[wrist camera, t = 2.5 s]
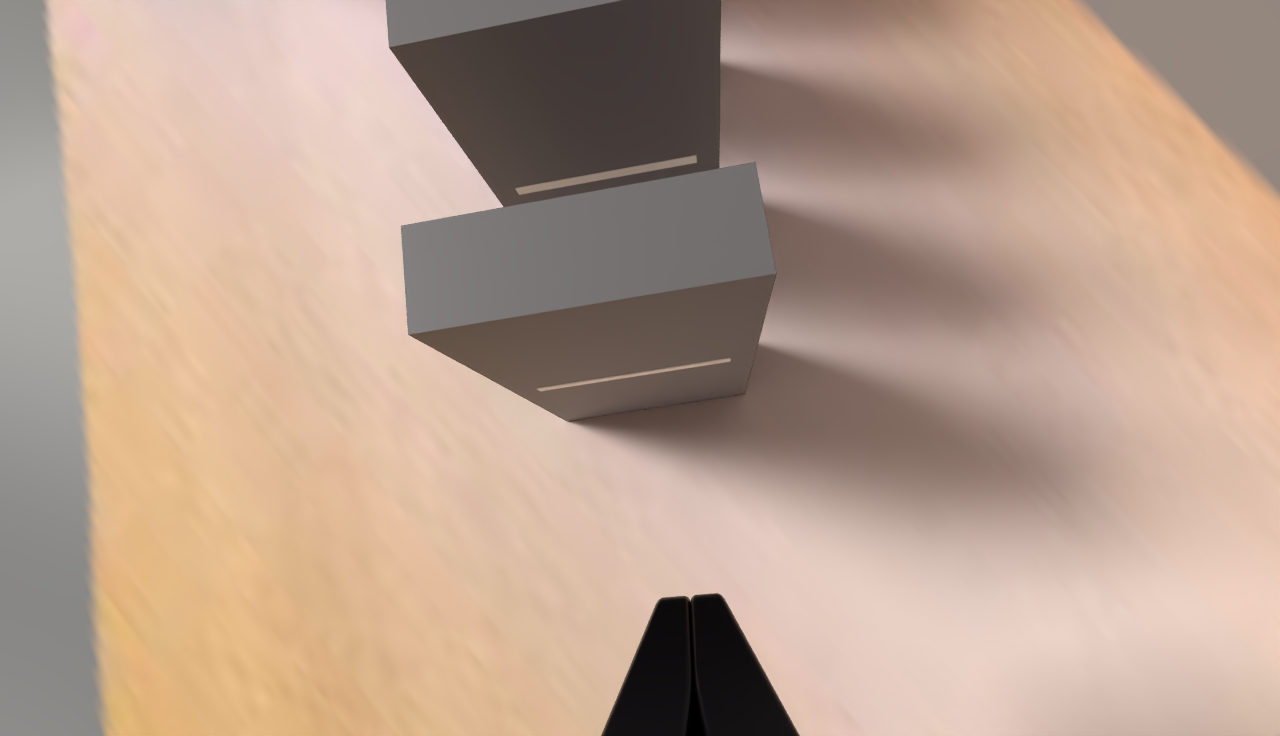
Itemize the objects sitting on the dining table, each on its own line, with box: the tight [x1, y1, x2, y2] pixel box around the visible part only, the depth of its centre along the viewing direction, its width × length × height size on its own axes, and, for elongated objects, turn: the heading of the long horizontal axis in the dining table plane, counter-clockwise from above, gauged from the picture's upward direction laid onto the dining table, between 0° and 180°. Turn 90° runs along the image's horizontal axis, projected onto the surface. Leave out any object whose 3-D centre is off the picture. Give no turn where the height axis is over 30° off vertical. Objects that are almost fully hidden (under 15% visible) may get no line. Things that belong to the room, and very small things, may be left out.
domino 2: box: [401, 162, 776, 421], centre depth 14 cm, size 2×5×10 cm, turn 98°
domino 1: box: [386, 0, 721, 207], centre depth 15 cm, size 2×5×10 cm, turn 98°
